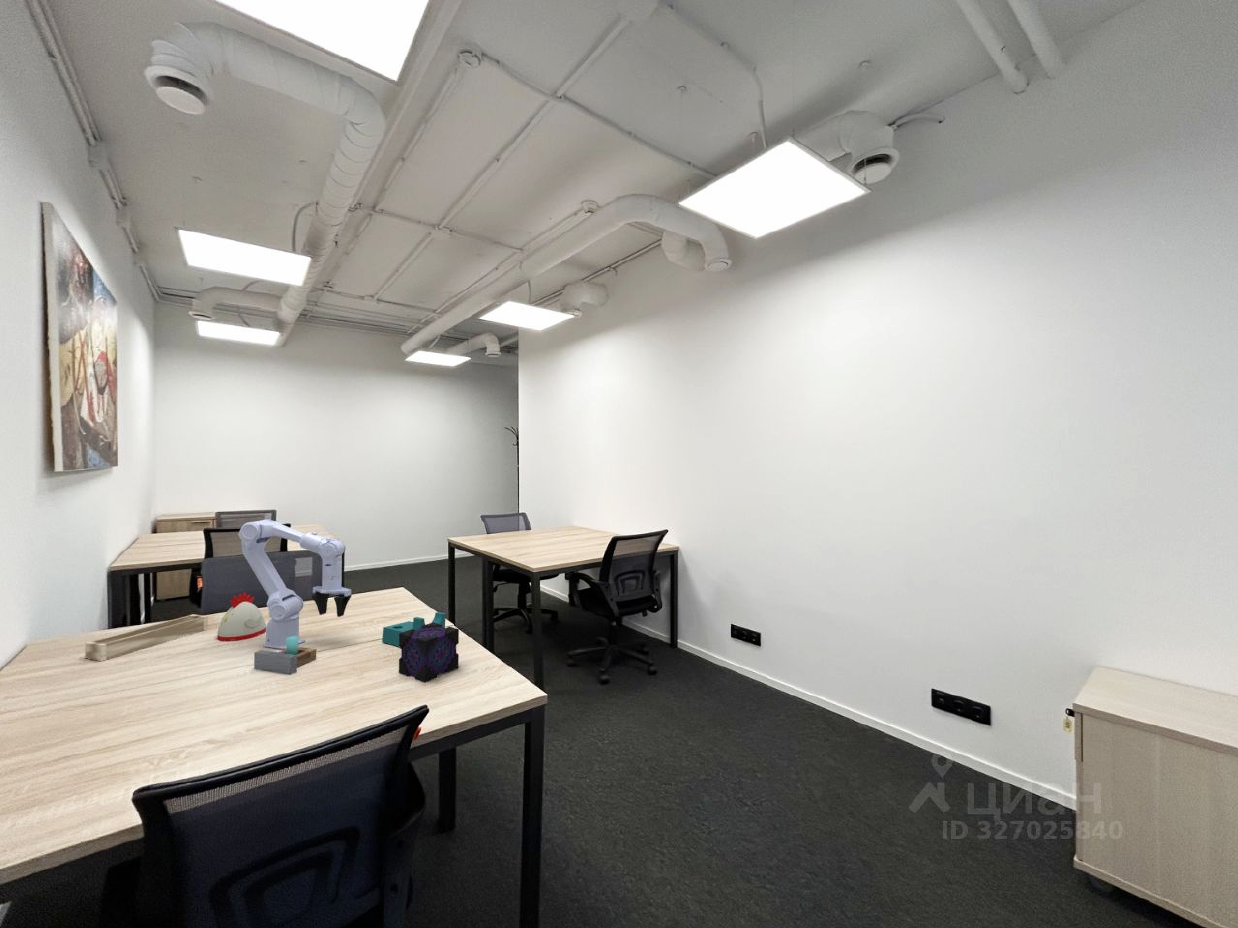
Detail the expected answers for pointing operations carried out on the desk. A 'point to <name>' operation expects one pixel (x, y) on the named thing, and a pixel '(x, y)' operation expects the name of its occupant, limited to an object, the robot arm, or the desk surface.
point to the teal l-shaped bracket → (408, 628)
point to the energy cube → (428, 651)
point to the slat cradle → (144, 637)
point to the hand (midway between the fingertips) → (331, 614)
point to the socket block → (304, 655)
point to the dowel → (292, 645)
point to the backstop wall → (275, 662)
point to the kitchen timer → (241, 621)
